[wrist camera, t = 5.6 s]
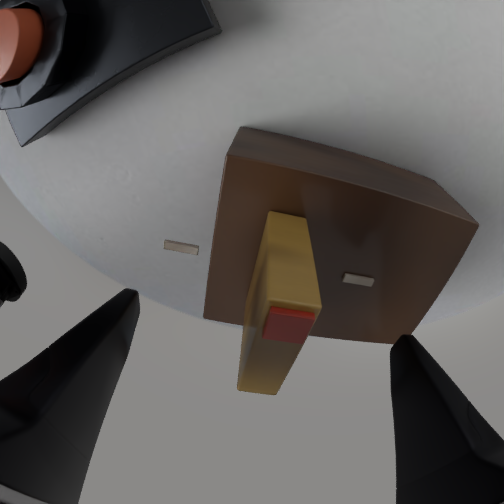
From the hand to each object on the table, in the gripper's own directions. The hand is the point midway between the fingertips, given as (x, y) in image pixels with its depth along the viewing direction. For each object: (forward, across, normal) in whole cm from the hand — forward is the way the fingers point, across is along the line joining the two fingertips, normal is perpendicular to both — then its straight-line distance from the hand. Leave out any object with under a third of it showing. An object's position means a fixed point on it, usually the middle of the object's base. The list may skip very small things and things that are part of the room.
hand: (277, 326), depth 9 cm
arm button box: (+8, +12, -9) cm, 17 cm away
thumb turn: (+3, 0, 0) cm, 3 cm away
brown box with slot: (+8, -3, 0) cm, 9 cm away
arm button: (+5, +13, -8) cm, 16 cm away
